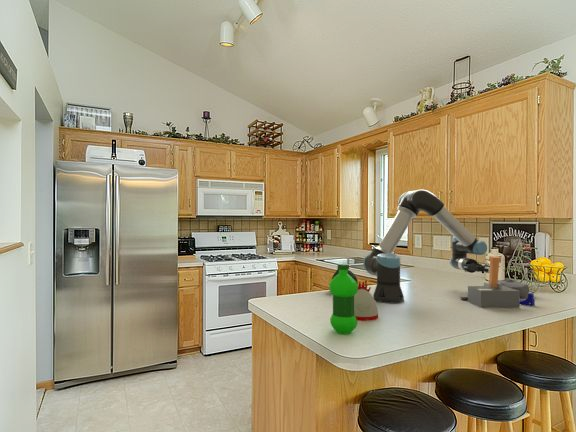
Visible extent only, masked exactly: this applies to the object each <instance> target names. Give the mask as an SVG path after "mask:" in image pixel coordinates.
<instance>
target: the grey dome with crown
mask: <svg viewBox="0 0 576 432" xmlns="http://www.w3.org/2000/svg"><path fill="white" fill-rule="evenodd" d="M371 289H372V287H371V286H369V287H368V284H367V283H366V284H365V281H362V284H361V281H359V282H358V290H357V293H356V294H355V295H354V315H355V317H356V320H357V321H361V322H370V321H375V320H377V319H379V309H378V305H377V301H376V300H374V295H372V294H371V293H370V290H371Z"/></svg>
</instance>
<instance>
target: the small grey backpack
mask: <svg viewBox="0 0 576 432" xmlns="http://www.w3.org/2000/svg"><path fill="white" fill-rule="evenodd" d="M498 283H499V284H502V286H505V287H508V288H512V289H515V290H518V291H520V298H521V299H526V298H527V297H528V294H529V293H530V286H529V285H528V284H526V283H523V282H519V281H516V280H512V279H498Z"/></svg>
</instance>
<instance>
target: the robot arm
mask: <svg viewBox="0 0 576 432" xmlns="http://www.w3.org/2000/svg"><path fill="white" fill-rule="evenodd" d="M420 212H425V213H426V214H427V215H429V217H432V218H434V219H435V220H436V221H438V223H439V224H440V225H441V226H442V227H444V229H446V231H448V232H449V233H450V234H451V235H452V238H451V239H452V242H451V245H452V247H451V248H452V256H451V257H450V259H449V265H450V266H451V267H452V268H454V269H456V270H461V271H464V272H465V273H471V274H473V273H475V272H478V273H479V272H481V274H484V273H487V274H490V265H489V264H488V263H487V264H486V263H485V264H482V263H479V262H478V261H477V260H476V259H474V258H468V257H467V256H468V254H470V255H476V256H478V255H479V256H483V255H485V254H486V253H487V252H488V245H487V243H486V242H485V241H483V240H479V239H477V238H476V237H475V236H474V235H473V234H472V233H471V232H470V231H469V229H467V228H466V227H465V226H464V225H463V224H462V223H461V222H460V221H459V220H458V219H457V218H456V217H455V216H454V215H453V214H452V213H451V212H450V211H449V210H448V209H447V208H446V206H445V203H444V202H443V201H442V200H441V199H440V198H439V197H438V196H436V195H435V194H434V193H432V192H431V191H429V190H426V189H417V190H409V191H406V192H404V193H402V194H401V195H400V196H399V198H398V205H397V213H396V215H395V217H394V218H393V220H392V221H391V224H390V225H389V226H388V229H387V231H386V232H385V234H384V236H383V237H382V238H381V240H380V242H379V244H378V245H377V246H375V247H373V249H372V251H371V252H370V253H367V254H366V255H365V256H364V258H363V263H362V265H363V268H364V269H365V272H367V273H368V274H369V275H372V276H376V286H375V289H374V293H373V298H374V300H375V302H380V303H385V304H398V303H403V302H404V299H405V296H404V292H403V291H402V286H401V259H400V257H399V255H396V254H393V253H394V251H395V250H396V248H397V246H398V244H399V242H400V241H401V239H402V238H403V236H404V234H405V232H406V230H408V229H407V228H408V227H409V225H410V223H411V222H412V220H413V219H415V218H417V217H418V215H419V213H420Z"/></svg>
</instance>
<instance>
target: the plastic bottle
mask: <svg viewBox="0 0 576 432" xmlns="http://www.w3.org/2000/svg"><path fill="white" fill-rule="evenodd" d="M337 269H339V274H337V275H336V276H335V277H334V278H333V279H332V278H331V279H332V280H329V283H328V284H329V286H328V288H329V292H330V293H331V295H332V314H331V316H330V319H329V320H330V321H329V323H330V325H331V327H332V329H333V330H334V332H336V333H337V334H341V335H349V334H351V332H352V331H354V330H355V329H356V328H357V325H358V320H356V317H355V315H354V295H355V294H356V293H357V290H358V286H359V284H358V285H357V282H356V281H355V280H354V279H353V278H352V277H351V276H350V275H349V274H348V270H350V264H349V263H337Z"/></svg>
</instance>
